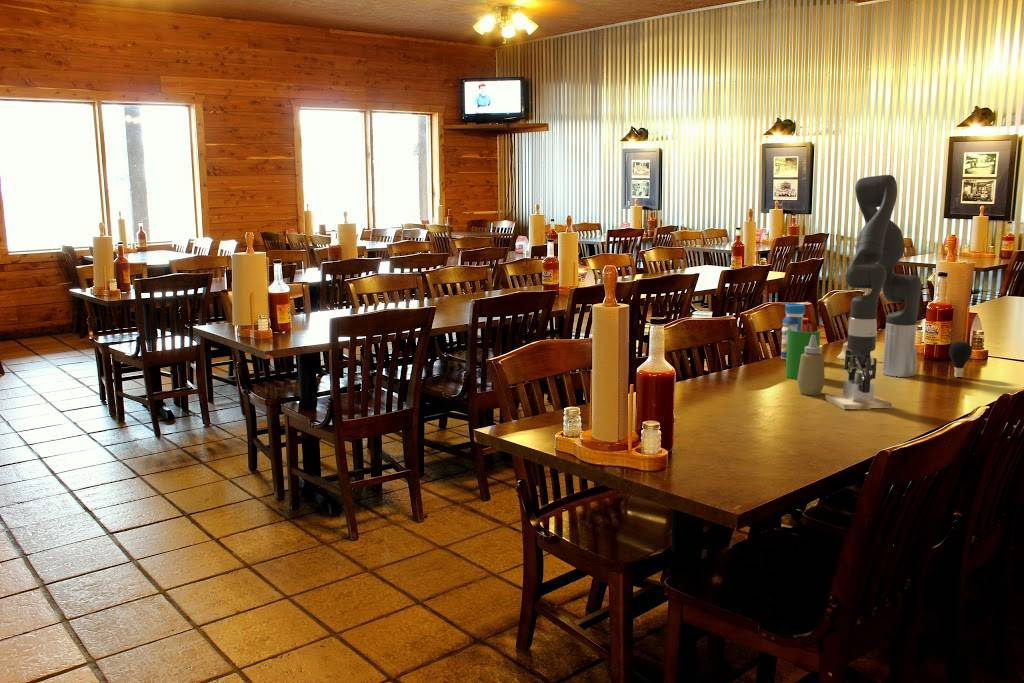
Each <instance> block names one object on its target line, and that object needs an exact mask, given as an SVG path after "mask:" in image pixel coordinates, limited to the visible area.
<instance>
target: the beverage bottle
mask: <svg viewBox="0 0 1024 683" xmlns="http://www.w3.org/2000/svg"><path fill="white" fill-rule="evenodd" d="M784 308H785V309H784V312H785V317H783V319H782V322H781V323H782V328H781V333H782V334H781V352H780V353H781V354H780V358H781V359H782V358H783V359H786V357H787V336H788V329H791V330H792V331H798V332H801V327H802V318H805V317H804V315H805V313H806V312H805V311H806V305H805V304H803V303H793V302H792V303H786V304H785V307H784ZM783 359H782V360H783Z"/></svg>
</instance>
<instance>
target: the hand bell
mask: <svg viewBox="0 0 1024 683" xmlns="http://www.w3.org/2000/svg"><path fill="white" fill-rule="evenodd" d="M849 321H850V316H849V317H848V320H847V329H848V328H849ZM847 344H848V340H847V341H846V342H844V343H843V345H842V349H841V352H840V354H838V355H837V357H836V358H837V359H838V358H839V360H842V359H844V360H843V361H845V353H846V350H849V349H848V348H847Z"/></svg>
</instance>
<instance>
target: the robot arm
mask: <svg viewBox="0 0 1024 683" xmlns="http://www.w3.org/2000/svg"><path fill="white" fill-rule="evenodd" d="M854 187H855V188H854V189H855V190H854V191H855V196H856V198H855V199H856V200H857V204H858V207H859V209H860V212H861V214H862V216H863V219H864V221H865V225H864V226H863V227H862V229H861V230H860V231H859V232H860V233H859V235H858V240H857V244H856V249H855V250H856V251H855V254H854V257H853V258H852V259H851V262H850V264H849V266H848V268H847V270H846V273H845V282H846V283H847V285H848V287H850V288H853V289H854V288H855V289H870V293H868V294H866V295H859V296H855V297H853V298H852V299H851V301H850V315H849V317H850V321H849V328H848V327H847V330H848V332H847V333H848V334H847V341H848V344H847V348H848V349H849V350H846V353H845V360H844V370H845V371H846V372H847V374H848V379H847V380H855V373H861V376H862V385H861V392H863V393H869V392H870V382H871V380H874V379H876V375H877V373H876V372H877V358H876V357H871V352H874V351H875V350H876V345H877V328H878V324H877V317H878V315H877V313H878V304H879V298H880V295H881V292H882V293H883V294H882V295H883V297H884V298H885V300H886V301H888V302H891V303H900V304H904V308H903V309H900V310H898V311H894V312H889V313H888V314H887V315H886V318H885V319H886V321H885V333H884V334H885V335H884V348H883V362H882V363H883V365H882V375H885V376H890V377H896V376H897V378H907V377H913V376H916V374H917V359H918V347H917V346H916V339H917V338H916V335H917V326H918V325H917V323H918V322H917V321H918V315H919V307H920V306H919V305H920V300H921V294H922V281H921V278H920V277H919V276H918V275H912V274H898V273H896V272H895V267H896V265H897V264H898V262H899V261H900V260H901V259H902V257H903V255H904V253H905V249H906V245H905V240H904V236H903V233H902V229H901V228H900V227H899V226H898V224H896V223H895V222H894V221H892V220H891V218H892V215H893V211H894V208H895V205H896V202H897V198H898V184H897V181H896V178H895V177H894V175H892V174H884V175H883V174H882V175H875V176H865V177H862V178H859V179H858V180H857V182H856V183H855V186H854Z"/></svg>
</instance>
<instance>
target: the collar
mask: <svg viewBox="0 0 1024 683" xmlns="http://www.w3.org/2000/svg"><path fill="white" fill-rule="evenodd" d="M854 382H855V380H848V379H844V380H843V393H842V394H843V397H845V398H847V399H849V400H851V401H853V402H860V401H873V395H874V392H875V391H874V390H875V389H874V388H875V384H874V383H873V382H871V381H870V392H869V393H863V392H861V385H862V384H855V383H854Z"/></svg>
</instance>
